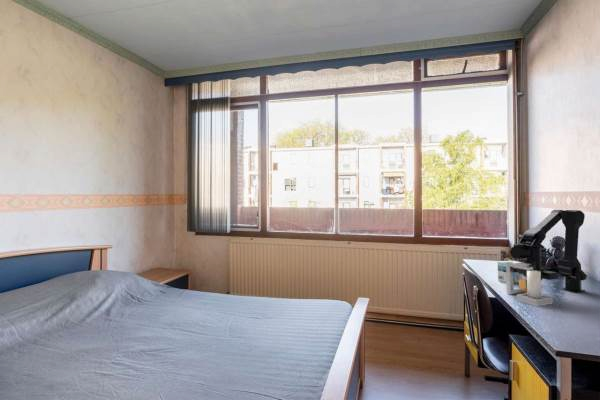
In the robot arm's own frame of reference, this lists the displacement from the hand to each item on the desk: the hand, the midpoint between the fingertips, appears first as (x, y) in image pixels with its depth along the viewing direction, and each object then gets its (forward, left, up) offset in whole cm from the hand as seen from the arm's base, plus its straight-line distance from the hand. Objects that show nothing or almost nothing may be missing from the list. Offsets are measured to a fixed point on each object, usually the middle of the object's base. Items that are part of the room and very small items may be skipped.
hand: (534, 289), depth 154 cm
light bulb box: (-10, -22, -2) cm, 24 cm away
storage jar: (-42, -31, -2) cm, 52 cm away
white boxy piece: (+5, 0, -2) cm, 5 cm away
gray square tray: (+11, +8, -2) cm, 13 cm away
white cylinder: (+11, +8, -1) cm, 13 cm away
